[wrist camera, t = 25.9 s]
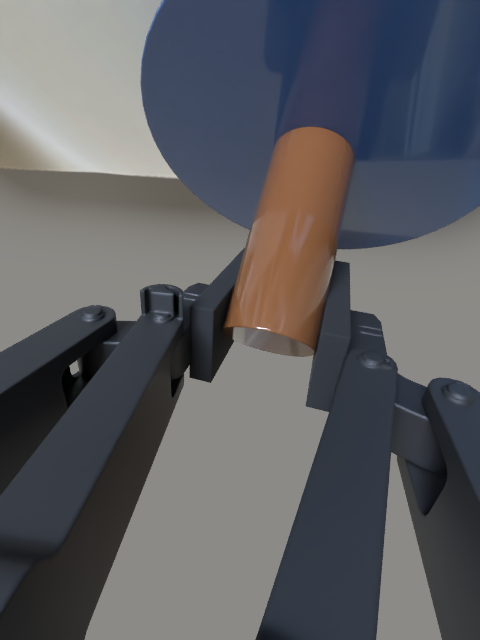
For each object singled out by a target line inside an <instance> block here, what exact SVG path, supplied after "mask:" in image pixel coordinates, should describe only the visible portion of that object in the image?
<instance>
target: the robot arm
mask: <svg viewBox="0 0 480 640" xmlns="http://www.w3.org/2000/svg"><path fill="white" fill-rule="evenodd" d="M244 250H245V248H244V249H243V250H242V251H241V252H240V253H239V254H238V255H237V256H236V257H235V259H234V260H233V261H232V262H231V263H230V264H229V265H228V266H227V267H226V268H225V269H224V270H223V271H222V272H221V273H220V274H219V276H218V277H217V278H216V279H215V280H214V281H213V282H212V283H211V284H210V285H207V284H201V283H197V284H195V285H192V286H190V287H188V288H187V289H186V290H185V291H184V292H183V291H182V290H181V289H180V288H178V287H176V286H172V285H165V284H158V285H151V286H148V287H145V288H143V289H142V290H140V297H141V310H142V315H141V316H140V317H139V319H138V320H137V321H116V314H115V311H114V310H113V309H111V308H109V307H105V306H100V305H96V306H94V305H92V306H88V307H84V308H81V309H79V310H76V311H74V312H72V313H70V314H69V315H67V316H65V317H63V318H61V319H60V320H58V321H56V322H54V323H53V324H51V325H49V326H47V327H45V328H43V329H42V330H40V331H38V332H36V333H35V334H33V335H31V336H29V337H28V338H25V339H24V340H22V341H20V342H18V343H16V344H14V345H13V346H11V347H9V348H7V349H6V350H4V351H2V352H0V640H84V639H85V635H86V631H87V629H88V626H89V623H90V620H91V618H92V615H93V613H94V610H95V607H96V605H97V602H98V600H99V597H100V595H101V592H102V590H103V587H104V585H105V582H106V580H107V577H108V574H109V572H110V570H111V567H112V565H113V562H114V560H115V557H116V554H117V552H118V549H119V547H120V544H121V542H122V539H123V537H124V534H125V532H126V529H127V527H128V524H129V522H130V519H131V517H132V514H133V511H134V509H135V506H136V504H137V501H138V499H139V496H140V494H141V491H142V489H143V486H144V484H145V481H146V478H147V476H148V474H149V471H150V469H151V466H152V464H153V461H154V458H155V456H156V453H157V451H158V448H159V446H160V443H161V441H162V438H163V436H164V433H165V431H166V428H167V426H168V423H169V420H170V418H171V415H172V413H173V410H174V408H175V405H176V403H177V400H178V398H179V395H180V392H181V390H182V388H183V385H184V372H185V370H186V369H187V368H188V366H189V365H190V378H194V379H198V380H202V381H206V382H210V383H211V381H212V380H213V378H214V376H215V374H216V372H217V370H218V369H219V367H220V365H221V364H222V362H223V360H224V358H225V356H226V355H227V353H228V351H229V349H230V347H231V346H232V344H233V342H234V340H233V339H231V338H229V337H228V336H227V335H225V334H224V332H223V330H222V327H223V324H224V320H225V317H226V313H227V310H228V306H229V303H230V299H231V296H232V292H233V289H234V285H235V281H236V278H237V274H238V271H239V267H240V264H241V260H242V257H243V253H244ZM349 267H350V266H349V263H347V262H340V261H335V263H334V268H333V273H332V277H331V282H330V287H329V292H328V297H327V301H326V306H325V311H324V316H323V321H322V326H321V331H320V336H319V341H318V345H317V350H316V353H315V354H314V356H313V362H312V369H311V376H310V382H309V389H308V395H307V401H306V406H307V407H312V408H315V409H319V410H323V411H328V412H329V415H328V418H327V421H326V424H325V427H324V430H323V433H322V436H321V439H320V443H319V446H318V449H317V452H316V455H315V458H314V461H313V464H312V467H311V471H310V474H309V477H308V480H307V483H306V486H305V489H304V492H303V495H302V498H301V502H300V505H299V508H298V511H297V514H296V517H295V520H294V523H293V526H292V530H291V532H290V536H289V539H288V542H287V545H286V548H285V551H284V554H283V557H282V560H281V563H280V567H279V570H278V573H277V576H276V579H275V582H274V585H273V589H272V591H271V594H270V598H269V601H268V604H267V607H266V610H265V613H264V616H263V619H262V622H261V625H260V628H259V631H258V634H257V637H256V640H376V634H377V621H378V608H379V597H380V584H381V572H382V559H383V546H384V534H385V521H386V508H387V496H388V484H389V471H390V458H391V452H392V453H394V454H396V455H397V462H398V466H399V470H400V474H401V477H402V482H403V486H404V490H405V494H406V498H407V502H408V506H409V509H410V514H411V518H412V521H413V525H414V529H415V533H416V537H417V541H418V545H419V549H420V553H421V557H422V561H423V565H424V569H425V573H426V577H427V581H428V585H429V589H430V593H431V597H432V600H433V605H434V609H435V612H436V617H437V621H438V624H439V628H440V632H441V637H442V640H480V392H478V391H477V390H475V389H474V388H472V387H471V386H470V385H467V384H466V383H463V382H461V381H458V380H453V379H449V378H436V379H433V380H432V381H431V382H430V383H429V384H428V387H425V386H423V385H420V384H418V383H415V382H413V381H411V380H409V379H406V378H404V377H403V376H401V375H400V374H398V373H397V370H398V368H397V365H396V363H395V362H394V361H393V359H392V358H390V357H389V356H387V353H386V347H385V342H384V338H383V331H382V325H381V322H380V321H379V320H378V319H377V317H376V316H375V315H373V314H368V313H363V312H358V311H352V310H350V269H349ZM76 360H77V362H78V367H79V371H78V372H77V373H76V374H74V375H72V374H71V372H70V367H69V365H71V364H72V363H73V362H75V361H76Z"/></svg>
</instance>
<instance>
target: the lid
mask: <svg viewBox="0 0 480 640" xmlns="http://www.w3.org/2000/svg"><path fill="white" fill-rule="evenodd" d="M141 91H142V101H143V107H144V111H145V115H146V119H147V123H148V126H149V128H150V131H151V133H152V136H153V139H154V141H155V143H156V145H157V147H158V149H159V150H160V152H161V154H162V156H163V158H164V159H165V160H166V162H167V163H168V165H169V166H170V168H171V169H172V171H173V172H174V173H175V174H176V176H177V177H178V178H179V179H180V180H181V182H182V183H183V184H184V185H185V186H186V187H187V188H188V189H189V190H190V191H191V192H192V193H193V194H194V195H196V196H197V197H198V198H199V199H200V200H201V201H203V202H204V203H205V204H206V205H208V206H209V207H211V208H212V209H213V210H215V211H216V212H218V213H219V214H221V215H222V216H224V217H226V218H227V219H229V220H231V221H232V222H234V223H237V224H238V225H240V226H242V227H244V228H246V229H249V230H250V232H249V236H248V239H247V243H246V246H245V250H244V253H243V257H242V260H241V264H240V267H239V271H238V274H237V278H236V281H235V285H234V289H233V292H232V296H231V299H230V303H229V306H228V310H227V313H226V317H225V320H224V324H223V327H222V330H223V332H224V334H225V335H227V336H228V337H229V338H231V339H233V340H235V341H237V342H239V343H242V344H244V345H247V346H250V347H253V348H256V349H260V350H263V351H268V352H272V353H276V354H282V355H289V356H300V357H304V356H312V355H314V354H315V353H316V350H317V345H318V341H319V336H320V331H321V326H322V321H323V316H324V311H325V306H326V301H327V297H328V292H329V287H330V282H331V277H332V273H333V268H334V263H335V258H336V253H337V249H362V248H372V247H380V246H386V245H391V244H396V243H400V242H404V241H408V240H411V239H414V238H418V237H421V236H423V235H426V234H429V233H432V232H434V231H437V230H439V229H441V228H443V227H445V226H447V225H449V224H451V223H453V222H455V221H457V220H458V219H460V218H462V217H463V216H465V215H467V214H468V213H470V212H472V211H473V210H474V209H476V208H477V207H478V206H480V0H161V2H160V5H159V7H158V9H157V11H156V14H155V16H154V19H153V21H152V24H151V26H150V29H149V31H148V34H147V37H146V42H145V46H144V51H143V56H142V63H141Z"/></svg>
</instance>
